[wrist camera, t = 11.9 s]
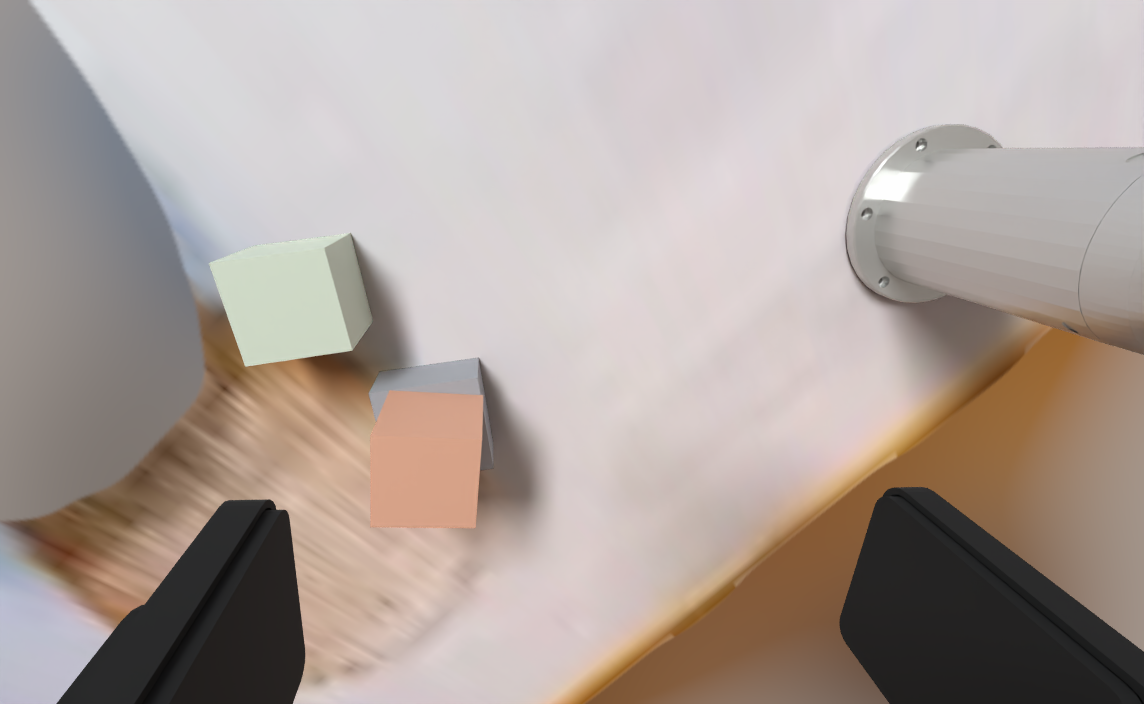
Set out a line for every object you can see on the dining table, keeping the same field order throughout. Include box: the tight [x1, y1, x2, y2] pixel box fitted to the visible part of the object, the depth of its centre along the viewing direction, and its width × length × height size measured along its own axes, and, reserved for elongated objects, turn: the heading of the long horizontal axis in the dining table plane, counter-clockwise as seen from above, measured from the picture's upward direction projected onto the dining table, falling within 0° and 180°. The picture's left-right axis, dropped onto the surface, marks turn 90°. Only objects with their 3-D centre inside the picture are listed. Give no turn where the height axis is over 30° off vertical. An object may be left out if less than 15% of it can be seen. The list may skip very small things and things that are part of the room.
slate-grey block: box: [369, 358, 493, 470], centre depth 38 cm, size 7×7×4 cm
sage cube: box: [209, 233, 373, 366], centre depth 33 cm, size 6×6×6 cm
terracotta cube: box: [370, 390, 483, 528], centre depth 34 cm, size 6×6×6 cm
